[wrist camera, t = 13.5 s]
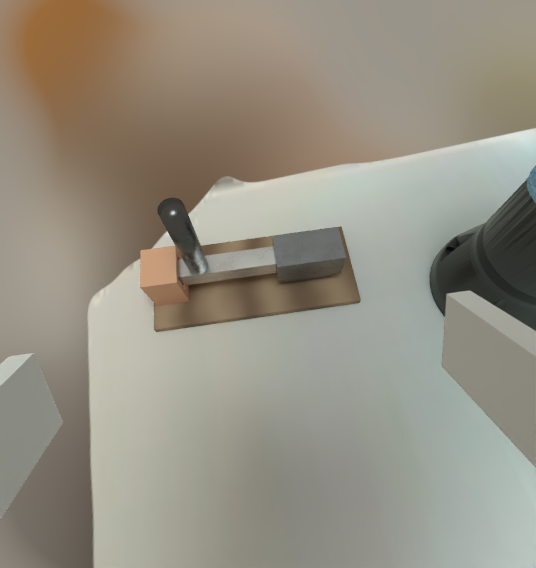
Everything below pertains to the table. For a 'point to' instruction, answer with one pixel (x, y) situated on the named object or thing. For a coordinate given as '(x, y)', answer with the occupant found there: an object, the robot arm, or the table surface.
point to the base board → (255, 293)
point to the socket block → (162, 276)
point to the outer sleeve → (308, 255)
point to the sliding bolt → (211, 266)
